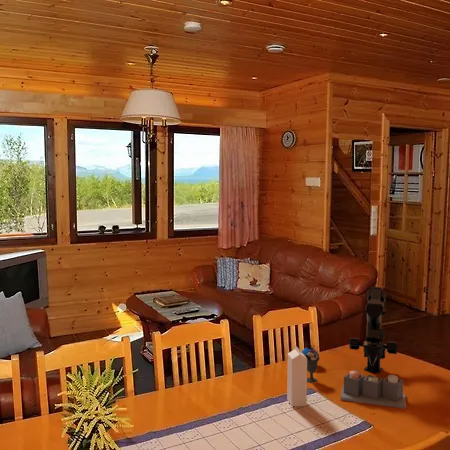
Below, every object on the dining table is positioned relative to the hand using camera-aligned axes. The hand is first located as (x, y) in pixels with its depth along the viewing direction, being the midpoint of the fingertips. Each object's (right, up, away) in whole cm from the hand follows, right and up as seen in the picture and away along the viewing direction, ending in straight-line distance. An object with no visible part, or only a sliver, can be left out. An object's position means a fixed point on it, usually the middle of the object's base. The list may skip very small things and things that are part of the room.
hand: (372, 365), depth 191 cm
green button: (0, -8, -2) cm, 9 cm away
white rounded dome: (+7, -7, -4) cm, 11 cm away
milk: (-31, -13, -6) cm, 34 cm away
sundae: (-21, -11, +15) cm, 29 cm away
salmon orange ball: (-7, -7, +1) cm, 10 cm away
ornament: (-19, -10, +32) cm, 38 cm away
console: (0, -13, -1) cm, 13 cm away
